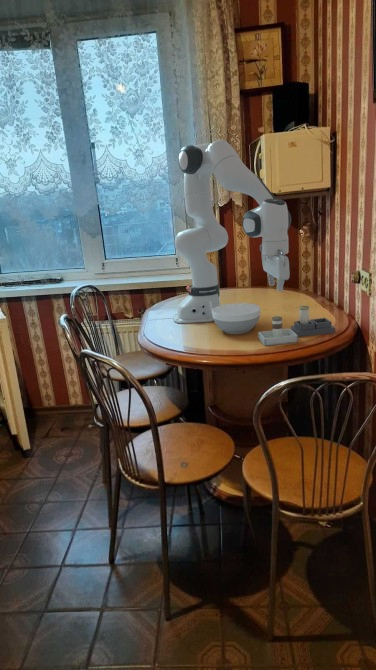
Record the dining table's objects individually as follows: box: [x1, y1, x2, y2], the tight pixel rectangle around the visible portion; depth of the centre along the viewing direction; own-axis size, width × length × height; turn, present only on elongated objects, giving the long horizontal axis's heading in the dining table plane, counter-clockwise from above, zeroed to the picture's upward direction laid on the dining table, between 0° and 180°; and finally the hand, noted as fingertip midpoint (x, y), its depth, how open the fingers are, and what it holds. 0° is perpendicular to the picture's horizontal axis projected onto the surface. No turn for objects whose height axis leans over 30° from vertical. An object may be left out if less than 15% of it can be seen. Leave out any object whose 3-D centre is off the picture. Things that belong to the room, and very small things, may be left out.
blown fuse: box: [271, 315, 283, 338], centre depth 168 cm, size 4×4×8 cm
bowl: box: [212, 302, 261, 335], centre depth 184 cm, size 19×19×9 cm
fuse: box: [298, 305, 310, 325], centre depth 173 cm, size 4×4×8 cm
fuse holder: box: [290, 317, 336, 338], centre depth 175 cm, size 14×8×4 cm, turn 97°
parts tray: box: [257, 328, 299, 347], centre depth 169 cm, size 12×9×2 cm
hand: (275, 288), depth 164 cm, fingers open, 8 cm apart
